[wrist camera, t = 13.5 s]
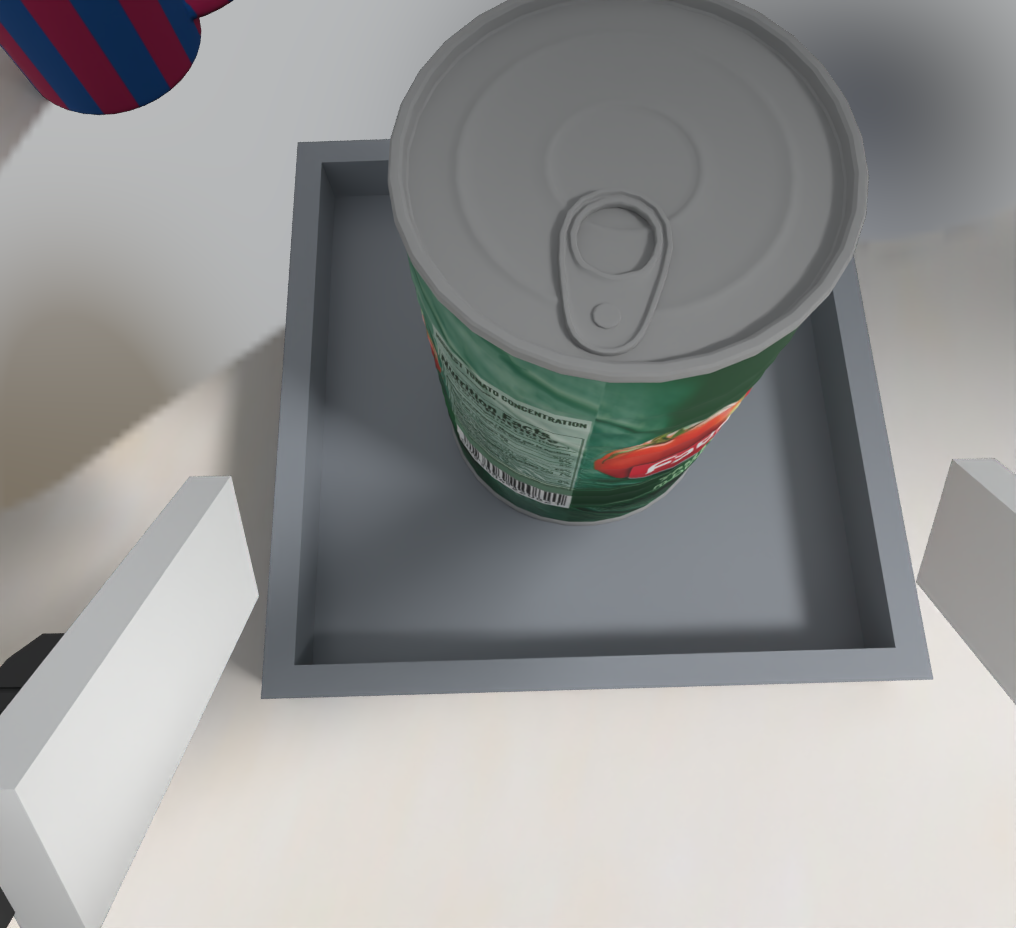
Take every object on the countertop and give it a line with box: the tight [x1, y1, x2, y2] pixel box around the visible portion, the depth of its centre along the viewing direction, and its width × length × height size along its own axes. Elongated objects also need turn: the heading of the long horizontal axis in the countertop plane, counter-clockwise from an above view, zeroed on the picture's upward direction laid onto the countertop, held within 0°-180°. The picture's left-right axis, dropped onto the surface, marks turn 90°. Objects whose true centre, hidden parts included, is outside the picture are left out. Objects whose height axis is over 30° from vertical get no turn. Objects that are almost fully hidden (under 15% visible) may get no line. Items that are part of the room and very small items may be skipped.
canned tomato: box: [388, 0, 869, 526], centre depth 17 cm, size 8×8×11 cm
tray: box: [261, 139, 933, 699], centre depth 22 cm, size 17×17×2 cm
